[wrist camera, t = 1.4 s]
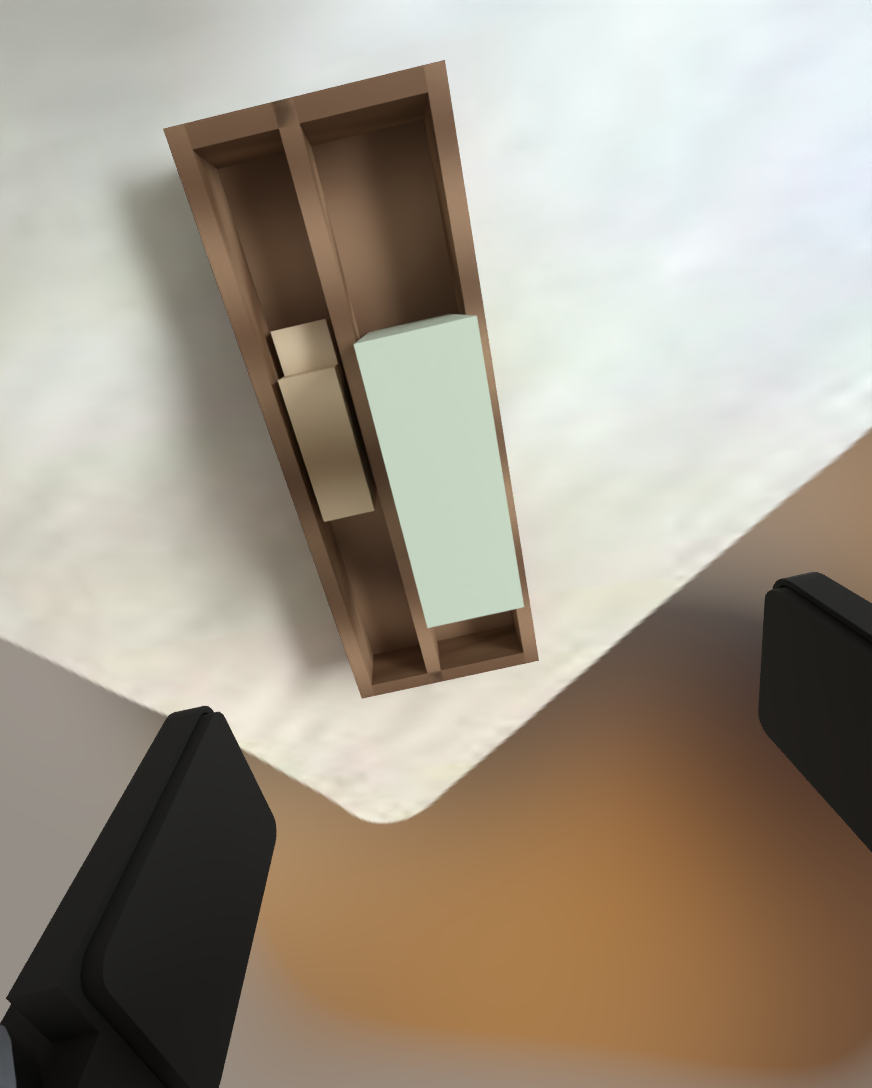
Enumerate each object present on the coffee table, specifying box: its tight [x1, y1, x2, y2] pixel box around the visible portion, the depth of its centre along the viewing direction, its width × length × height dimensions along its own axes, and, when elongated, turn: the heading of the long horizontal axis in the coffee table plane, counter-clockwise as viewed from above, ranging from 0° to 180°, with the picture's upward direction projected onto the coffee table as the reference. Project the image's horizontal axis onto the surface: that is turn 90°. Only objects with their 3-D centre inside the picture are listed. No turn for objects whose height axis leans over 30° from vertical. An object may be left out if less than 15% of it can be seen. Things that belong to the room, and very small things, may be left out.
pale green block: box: [354, 314, 524, 628], centre depth 23 cm, size 11×4×10 cm, turn 12°
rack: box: [163, 60, 539, 698], centre depth 27 cm, size 28×11×4 cm, turn 12°
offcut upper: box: [278, 364, 376, 522], centre depth 25 cm, size 7×3×2 cm, turn 12°
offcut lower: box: [271, 318, 377, 500], centre depth 26 cm, size 9×3×2 cm, turn 12°
